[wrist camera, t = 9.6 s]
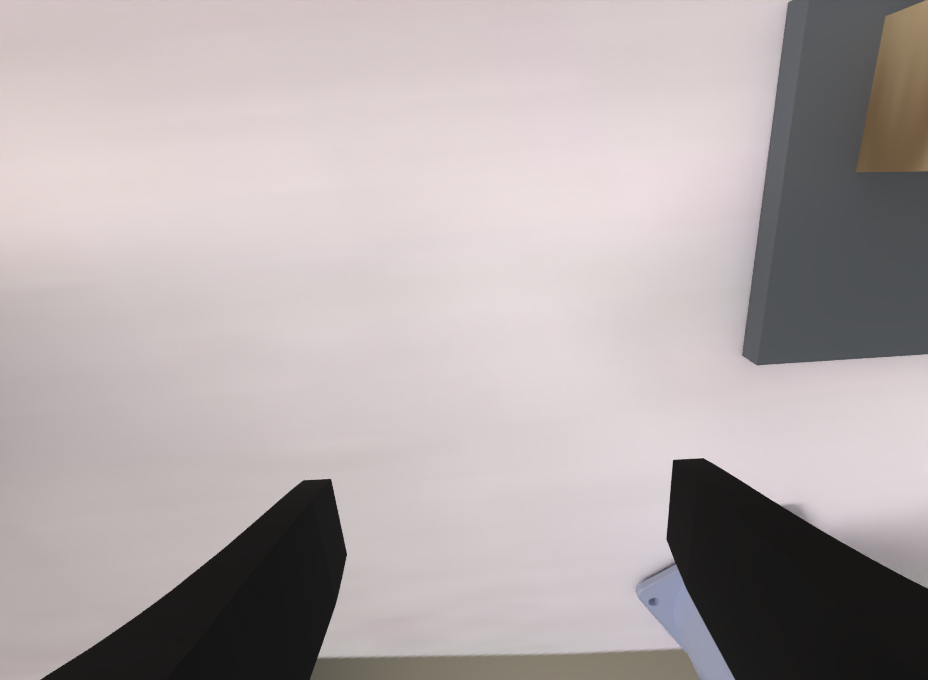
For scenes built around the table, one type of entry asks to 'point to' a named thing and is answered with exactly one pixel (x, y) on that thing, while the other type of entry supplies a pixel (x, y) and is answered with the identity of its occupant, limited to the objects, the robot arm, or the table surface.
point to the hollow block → (899, 97)
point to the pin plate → (835, 205)
